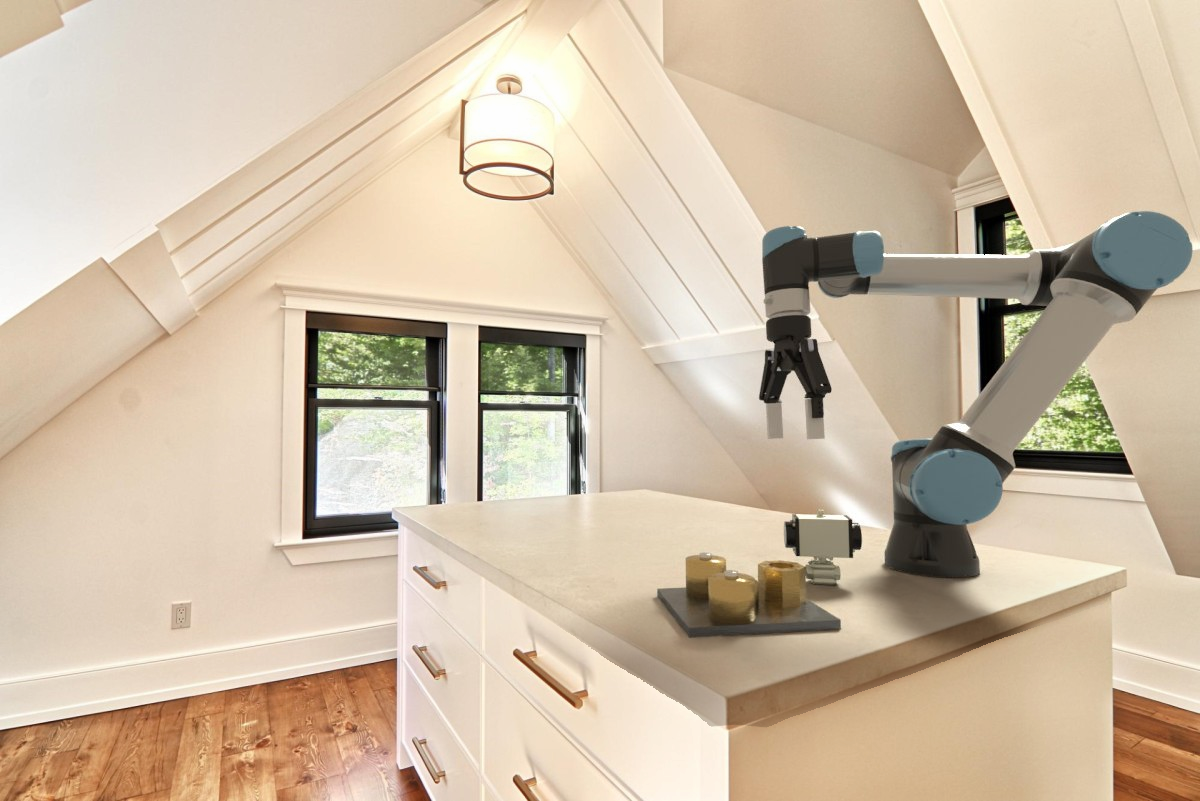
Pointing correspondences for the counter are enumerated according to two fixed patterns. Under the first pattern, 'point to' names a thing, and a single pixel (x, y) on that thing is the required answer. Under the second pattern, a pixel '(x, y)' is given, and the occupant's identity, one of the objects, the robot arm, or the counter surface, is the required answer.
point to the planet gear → (782, 583)
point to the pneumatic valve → (822, 543)
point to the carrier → (734, 604)
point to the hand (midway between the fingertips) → (794, 438)
